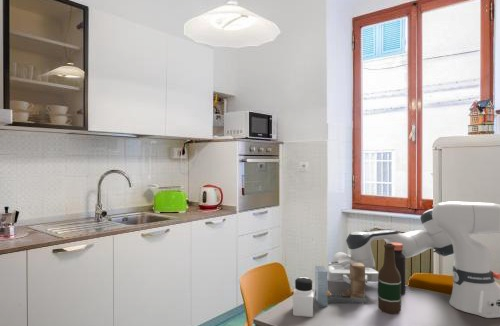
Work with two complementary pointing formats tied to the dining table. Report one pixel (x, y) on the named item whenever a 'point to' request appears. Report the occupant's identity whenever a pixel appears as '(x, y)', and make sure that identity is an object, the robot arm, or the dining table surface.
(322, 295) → the rail and cabinet
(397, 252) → the vinegar
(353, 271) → the carriage
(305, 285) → the medicine bottle
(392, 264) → the beer bottle
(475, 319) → the dining table surface
